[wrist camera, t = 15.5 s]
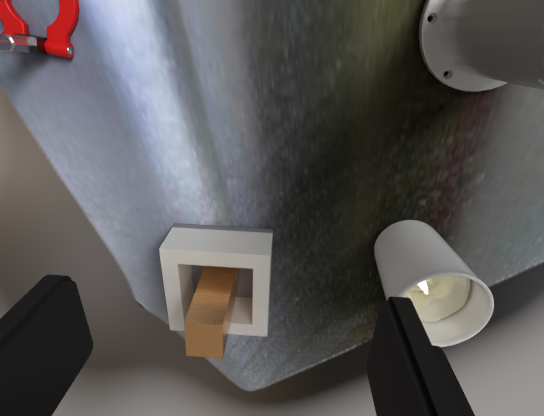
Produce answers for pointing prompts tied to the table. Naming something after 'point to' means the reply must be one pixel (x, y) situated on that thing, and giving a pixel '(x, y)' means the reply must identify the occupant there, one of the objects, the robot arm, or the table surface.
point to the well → (223, 253)
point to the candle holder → (432, 282)
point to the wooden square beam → (211, 312)
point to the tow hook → (21, 41)
